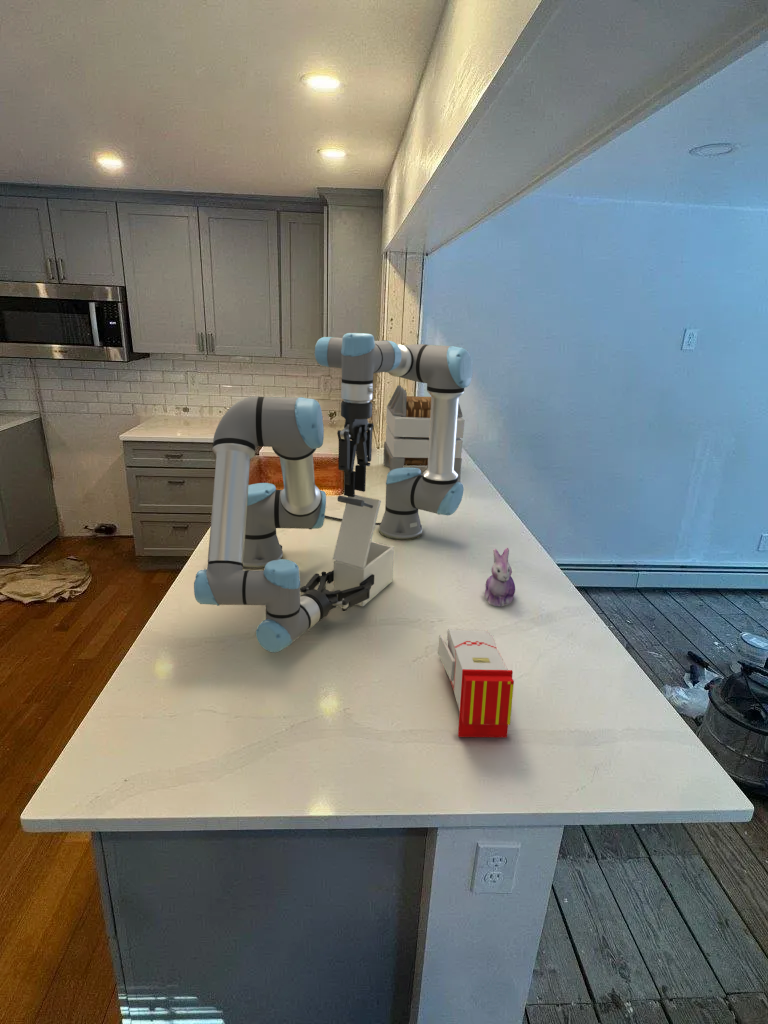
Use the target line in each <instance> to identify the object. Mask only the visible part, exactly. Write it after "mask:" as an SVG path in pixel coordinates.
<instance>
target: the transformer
mask: <svg viewBox="0 0 768 1024" xmlns="http://www.w3.org/2000/svg"><path fill="white" fill-rule="evenodd" d="M407 394H408V393H407V390H406V389H404V388H403V387H402V385H399V384H398V385H397V386H396V388H395V390H394V392H393V394H392V395H391V398H390V400H389V402H388V404H387V405H386V413H385V414H386V415H385V423H386V428H385V438H384V442H383V466H384V467H388V468H389V472H390V471H391V470H393V469H397V468H405V466H406V467H409V466H411V467H417V466H418V467H428V451H429V432H430V413H431V396H415V395H414V396H413V395H412V396H411V395H407ZM464 429H465V419H464V418H463V411H462V408H461V405H460V401H459V402H458V416H457V430H456V445H455V459H454V471H455V472H456V473H457V474H458V482H460V483H461V472H462V461H463V460H462V453H463V442H464V441H463V440H462V439H463V438H464V431H465V430H464Z"/></svg>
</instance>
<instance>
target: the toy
mask: <svg viewBox="0 0 768 1024" xmlns="http://www.w3.org/2000/svg"><path fill="white" fill-rule="evenodd" d="M446 640H447V643H446V641H445V639H444V636H443V635H442V634H439V637H438V646H437V656H438V657H439V659H440V661H441V663H442V666H443V668H444V670H445V672H446V674H447V677H448V679H449V681H450V684H451V687H452V690H453V693H454V697H455V701H456V705H457V708H458V711H459V714H458V715H459V716H458V730H457V731H458V732H457V737H458V738H508V731H509V726H510V725H511V717H512V707H513V697H514V696H513V695H514V684H515V680H514V679H513V673H514V671H513V670H512V669H508V667H507V665H506V662H505V661H504V659H503V658H502V655H501V653H500V651H499V649H498V647H497V643H496V639H495V637H494V635H493V634H491V632H490V631H489V629H467V628H466V629H465V628H463V629H461V628H460V629H459V628H448V630H447V639H446Z"/></svg>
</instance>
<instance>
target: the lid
mask: <svg viewBox="0 0 768 1024" xmlns="http://www.w3.org/2000/svg"><path fill="white" fill-rule="evenodd" d="M337 502H338V503H343V504H345V506H344V510H343V515H342V517H341V519H342V521H341V523H340V527H339V531H338V535H337V539H336V543H335V548H334V552H333V556H332V560H334V561H335V560H337V561H341V562H344V563H348V564H351V565H355V566H359V567H362V568H365V565H366V561H367V557H368V553H369V549H370V544H371V541H373V535H374V531H375V527H376V525H375V524H376V523H377V518H378V515H379V510H380V507H381V502H382V500H381V499H376V498H372V497H368V496H363V495H358V494H355V497H349V496H345V495H340V494H339V495H338V496H337Z"/></svg>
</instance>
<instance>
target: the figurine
mask: <svg viewBox="0 0 768 1024" xmlns="http://www.w3.org/2000/svg"><path fill="white" fill-rule="evenodd" d="M492 552H493V553H492V554H493V564H492V567H491V569H490V570H491V575H490V576H489V577H488V578H487V579H486V581H485V591H484V599H485V600H486V601H487V603H488V604H489V605H491V606H494V607H504V606H508V605H510V604H511V603H512V602H513V600H514V596H515V593H516V584H515V581H514V579H513V577H512V573H513V570H512V566H511V564H510V562H509V557H510V548H509V547H505V549H504V550H503V552H502V553H501V554H500V552H499V551H498V549H497V548H493V549H492Z"/></svg>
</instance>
